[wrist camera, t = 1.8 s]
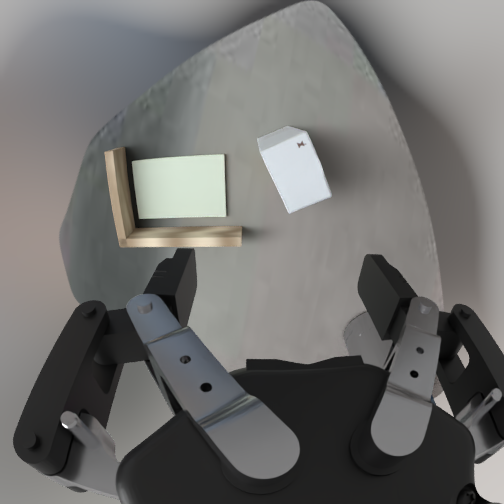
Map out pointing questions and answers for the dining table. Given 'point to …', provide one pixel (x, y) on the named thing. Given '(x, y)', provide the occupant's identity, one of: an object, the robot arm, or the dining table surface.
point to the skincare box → (294, 167)
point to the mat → (180, 186)
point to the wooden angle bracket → (159, 235)
